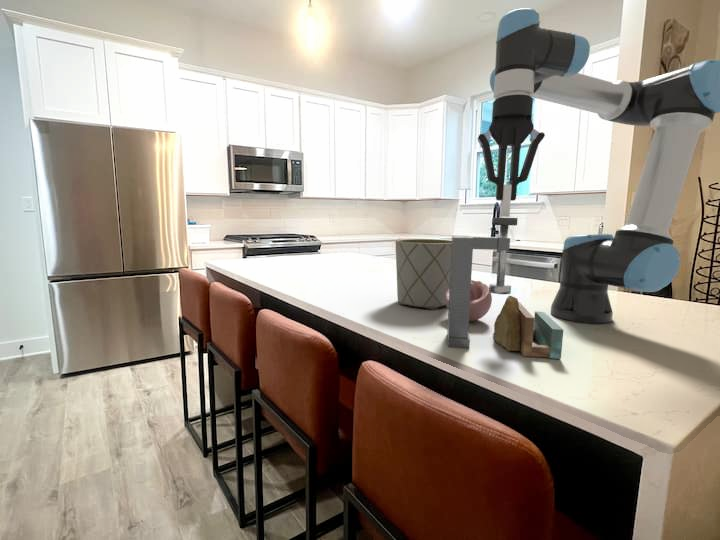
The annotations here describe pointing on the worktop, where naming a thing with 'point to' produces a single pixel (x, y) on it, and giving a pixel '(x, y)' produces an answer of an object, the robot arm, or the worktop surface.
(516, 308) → the rock
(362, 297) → the worktop surface
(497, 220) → the ram
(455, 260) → the press frame
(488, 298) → the mortar and pestle
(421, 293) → the planter
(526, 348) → the frame
